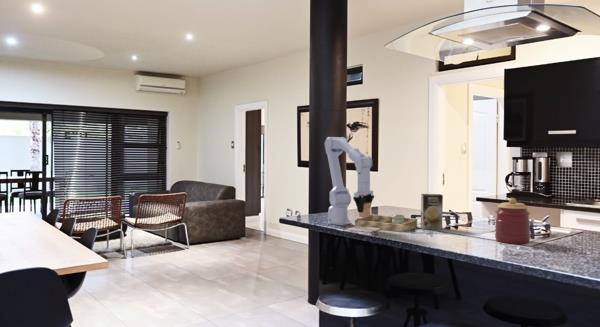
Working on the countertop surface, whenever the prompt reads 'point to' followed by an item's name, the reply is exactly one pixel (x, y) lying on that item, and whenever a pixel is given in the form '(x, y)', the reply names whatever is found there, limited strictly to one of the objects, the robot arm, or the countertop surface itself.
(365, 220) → the compartment tray
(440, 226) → the coffee box
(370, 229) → the ceramic tile
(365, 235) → the countertop surface
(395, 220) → the sage pot
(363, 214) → the terracotta pot
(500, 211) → the canister
